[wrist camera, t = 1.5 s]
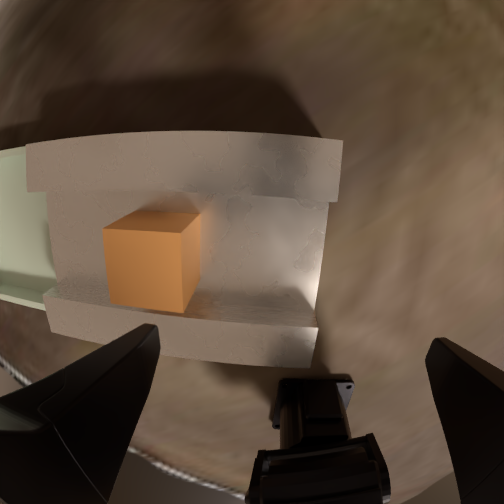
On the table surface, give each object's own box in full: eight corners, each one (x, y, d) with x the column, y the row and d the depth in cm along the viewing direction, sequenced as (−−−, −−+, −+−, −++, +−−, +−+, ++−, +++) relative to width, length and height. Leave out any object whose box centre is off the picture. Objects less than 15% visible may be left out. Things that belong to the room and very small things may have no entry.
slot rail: (303, 325, 23) (310, 368, 18) (83, 301, 23) (51, 331, 18) (324, 142, 18) (342, 140, 14) (69, 141, 19) (25, 144, 14)
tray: (78, 300, 23) (63, 314, 21) (-1, 284, 24) (-16, 294, 21) (64, 141, 19) (44, 143, 17) (-17, 155, 19) (-35, 158, 17)
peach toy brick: (200, 279, 19) (183, 313, 15) (138, 273, 19) (110, 303, 15) (200, 213, 17) (180, 233, 13) (134, 210, 17) (102, 228, 14)
